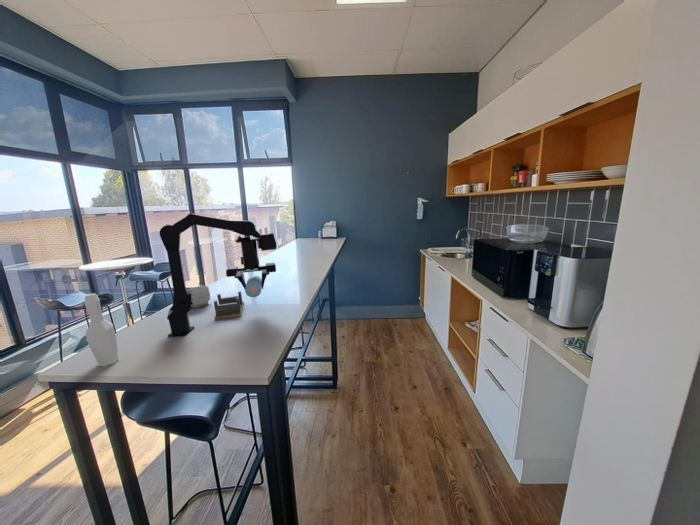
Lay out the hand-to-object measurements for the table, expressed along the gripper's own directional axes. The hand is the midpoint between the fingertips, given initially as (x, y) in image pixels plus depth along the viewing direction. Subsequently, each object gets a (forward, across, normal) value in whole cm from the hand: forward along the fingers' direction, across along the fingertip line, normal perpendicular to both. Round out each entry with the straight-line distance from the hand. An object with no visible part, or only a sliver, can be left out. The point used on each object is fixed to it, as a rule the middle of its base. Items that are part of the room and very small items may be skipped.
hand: (254, 289), depth 112 cm
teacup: (+11, +27, -25) cm, 39 cm away
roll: (-2, 0, 0) cm, 2 cm away
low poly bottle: (+12, +43, +21) cm, 49 cm away
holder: (+11, +12, -9) cm, 18 cm away
